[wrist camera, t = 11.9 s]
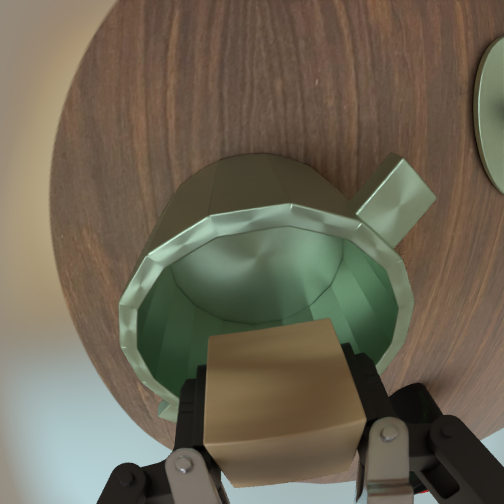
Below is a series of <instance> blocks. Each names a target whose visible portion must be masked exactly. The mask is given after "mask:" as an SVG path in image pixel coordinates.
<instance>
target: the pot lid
mask: <svg viewBox="0 0 504 504" xmlns="http://www.w3.org/2000/svg"><path fill="white" fill-rule="evenodd" d="M473 113H474V127H475V135H476V141H477V146H478V150H479V154H480V158H481V161H482V163H483V166H484V169H485V171H486V173H487V175H488V177H489V179H490V180H491V182H492V183H493V185H494V186H495V187H496V188H497V189H498V191H500V192H501V193H502V194H503V195H504V36H502V37H499V38H497V39H496V40H495V41H493V42H492V43H491V44H490V45H489V47H488V48H487V49H486V51H485V53H484V54H483V56H482V59H481V62H480V64H479V68H478V71H477V75H476V81H475V88H474V105H473Z"/></svg>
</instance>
